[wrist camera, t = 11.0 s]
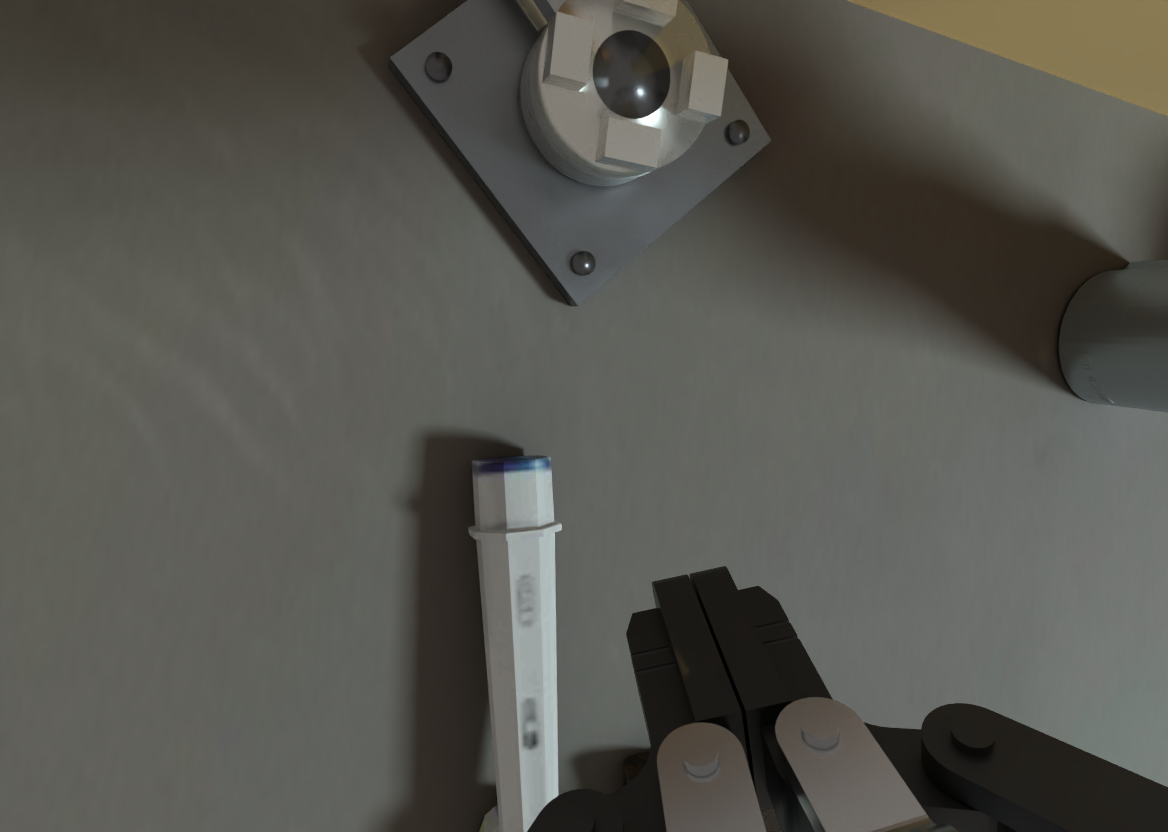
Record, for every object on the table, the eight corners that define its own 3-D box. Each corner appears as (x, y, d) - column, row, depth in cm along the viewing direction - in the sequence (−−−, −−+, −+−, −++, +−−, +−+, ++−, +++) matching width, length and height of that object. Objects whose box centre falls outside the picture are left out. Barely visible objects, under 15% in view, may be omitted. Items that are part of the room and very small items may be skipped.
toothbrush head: (574, 457, 35) (601, 971, 35) (539, 451, 41) (562, 886, 41) (465, 465, 33) (494, 1004, 33) (446, 458, 39) (471, 910, 40)
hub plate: (610, -99, 35) (621, -117, 34) (759, 145, 40) (774, 139, 38) (388, 66, 33) (390, 55, 32) (571, 306, 37) (580, 305, 36)
